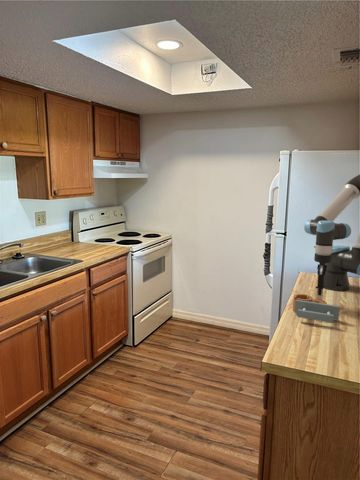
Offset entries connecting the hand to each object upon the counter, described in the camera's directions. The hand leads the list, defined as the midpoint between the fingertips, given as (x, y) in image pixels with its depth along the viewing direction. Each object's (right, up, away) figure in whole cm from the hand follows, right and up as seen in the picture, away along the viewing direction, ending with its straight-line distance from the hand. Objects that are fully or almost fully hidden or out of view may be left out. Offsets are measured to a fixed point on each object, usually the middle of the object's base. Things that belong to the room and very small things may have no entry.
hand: (319, 300), depth 175 cm
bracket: (-7, -3, -6) cm, 10 cm away
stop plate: (-9, -5, -19) cm, 21 cm away
